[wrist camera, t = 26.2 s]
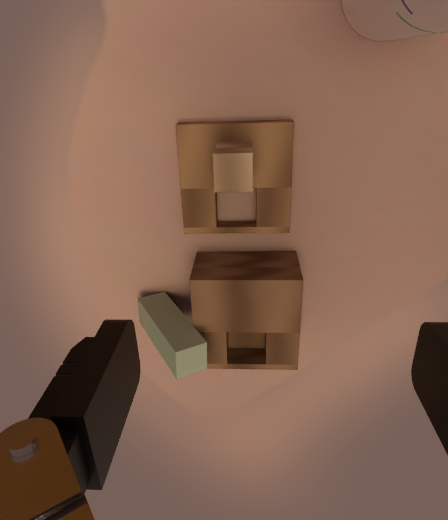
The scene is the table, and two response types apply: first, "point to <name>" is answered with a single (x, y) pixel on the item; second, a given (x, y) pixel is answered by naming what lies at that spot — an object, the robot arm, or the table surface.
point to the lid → (236, 172)
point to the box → (248, 308)
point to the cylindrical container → (396, 18)
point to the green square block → (173, 335)
